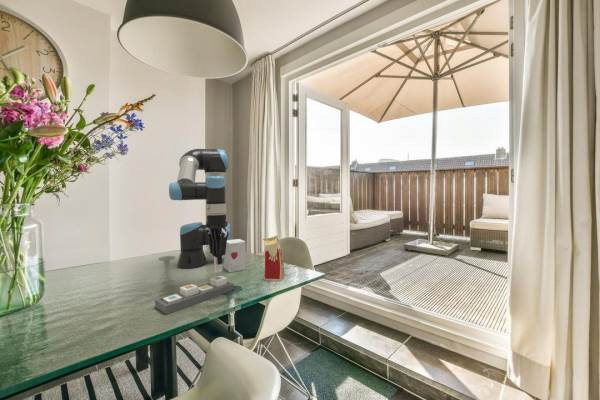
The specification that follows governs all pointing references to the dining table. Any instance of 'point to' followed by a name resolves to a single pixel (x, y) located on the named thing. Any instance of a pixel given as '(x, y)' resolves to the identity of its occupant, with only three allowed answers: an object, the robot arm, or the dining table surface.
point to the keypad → (192, 298)
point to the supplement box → (235, 255)
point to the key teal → (172, 299)
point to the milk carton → (273, 260)
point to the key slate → (218, 281)
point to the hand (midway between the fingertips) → (218, 271)
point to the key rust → (189, 290)
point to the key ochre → (205, 288)
